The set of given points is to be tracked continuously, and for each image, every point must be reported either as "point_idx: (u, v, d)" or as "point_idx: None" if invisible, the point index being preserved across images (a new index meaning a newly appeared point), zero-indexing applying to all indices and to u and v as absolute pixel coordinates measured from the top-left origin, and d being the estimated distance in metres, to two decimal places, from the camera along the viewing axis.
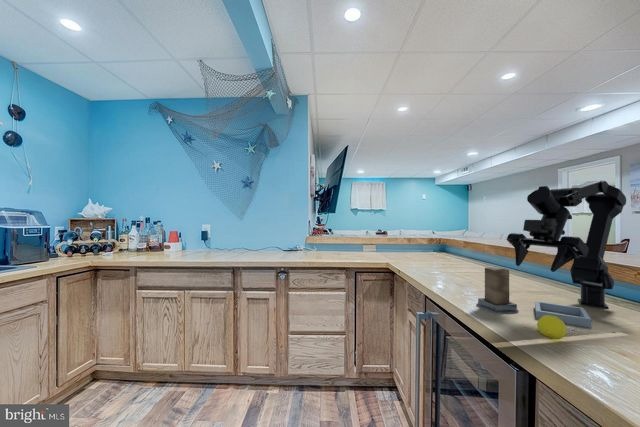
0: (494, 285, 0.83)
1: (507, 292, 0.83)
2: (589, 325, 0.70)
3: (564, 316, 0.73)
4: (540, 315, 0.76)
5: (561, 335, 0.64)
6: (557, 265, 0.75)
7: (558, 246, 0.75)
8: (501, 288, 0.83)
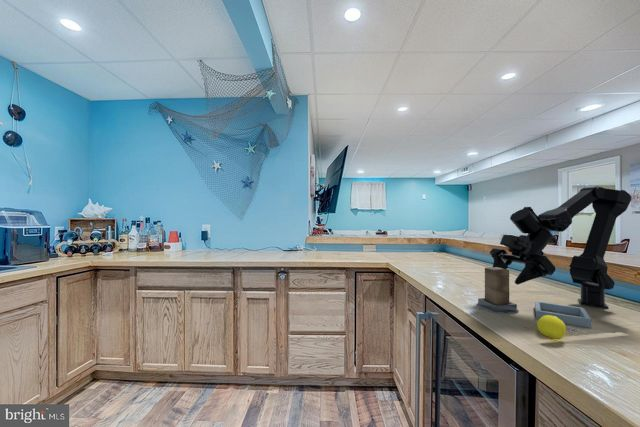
0: (494, 285, 0.83)
1: (507, 292, 0.83)
2: (589, 325, 0.70)
3: (564, 316, 0.73)
4: (540, 315, 0.76)
5: (561, 335, 0.64)
6: (521, 279, 0.80)
7: (526, 261, 0.80)
8: (501, 288, 0.83)
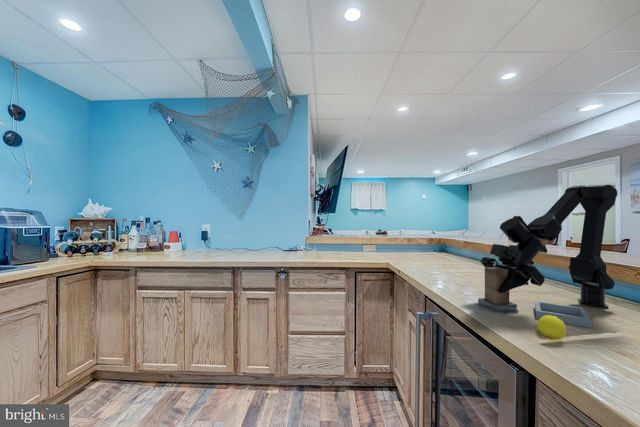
0: (494, 285, 0.83)
1: (507, 292, 0.83)
2: (589, 325, 0.70)
3: (564, 316, 0.73)
4: (540, 315, 0.76)
5: (561, 335, 0.64)
6: (505, 287, 0.82)
7: (509, 270, 0.82)
8: None
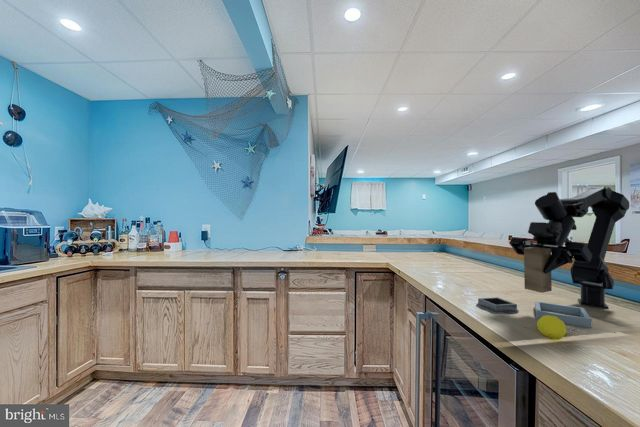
0: (539, 265, 0.77)
1: (550, 272, 0.78)
2: (589, 325, 0.70)
3: (564, 316, 0.73)
4: (540, 315, 0.76)
5: (561, 335, 0.64)
6: (550, 267, 0.77)
7: (552, 249, 0.77)
8: None
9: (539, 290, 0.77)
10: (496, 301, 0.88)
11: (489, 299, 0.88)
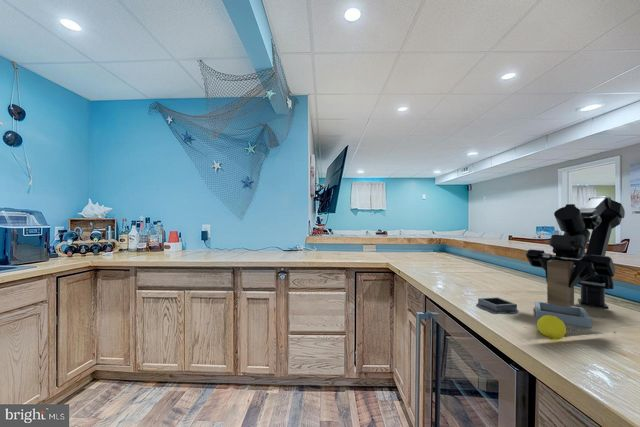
0: (565, 279, 0.75)
1: None
2: (589, 325, 0.70)
3: (564, 316, 0.73)
4: (540, 315, 0.76)
5: (561, 335, 0.64)
6: (575, 281, 0.75)
7: (576, 262, 0.76)
8: None
9: (564, 305, 0.75)
10: (496, 301, 0.88)
11: (489, 299, 0.88)
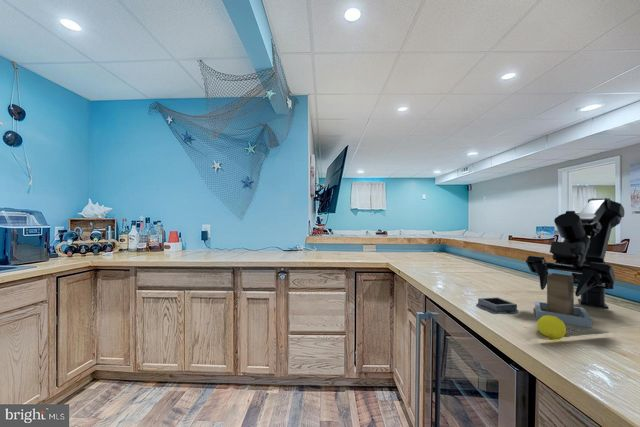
0: (564, 293, 0.75)
1: (572, 300, 0.77)
2: (589, 325, 0.70)
3: (564, 316, 0.73)
4: (540, 315, 0.76)
5: (561, 335, 0.64)
6: (581, 290, 0.74)
7: (583, 270, 0.74)
8: (570, 296, 0.76)
9: None
10: (496, 301, 0.88)
11: (489, 299, 0.88)
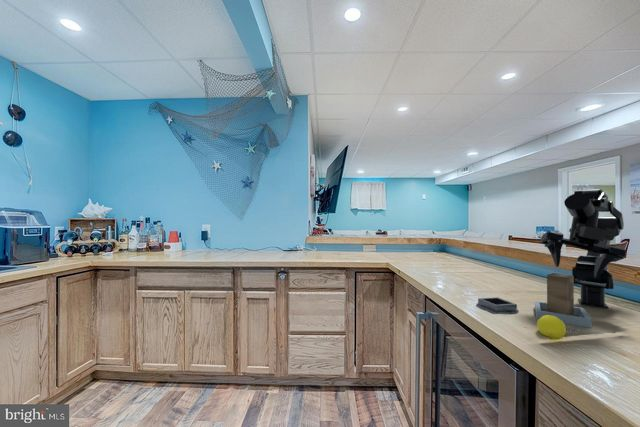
0: (564, 293, 0.75)
1: (572, 300, 0.77)
2: (589, 325, 0.70)
3: (564, 316, 0.73)
4: (540, 315, 0.76)
5: (561, 335, 0.64)
6: None
7: (607, 255, 0.79)
8: (570, 296, 0.76)
9: None
10: (496, 301, 0.88)
11: (489, 299, 0.88)
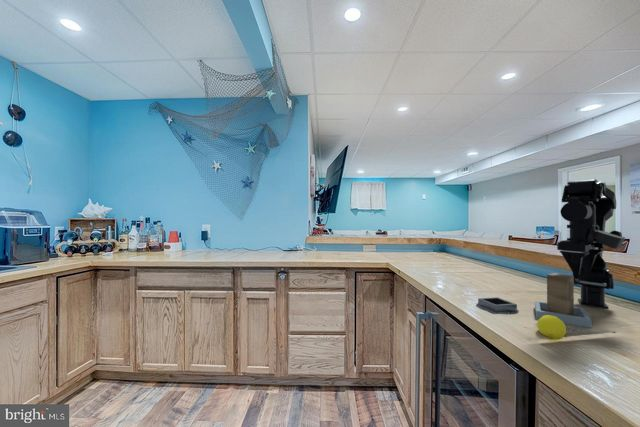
0: (564, 293, 0.75)
1: (572, 300, 0.77)
2: (589, 325, 0.70)
3: (564, 316, 0.73)
4: (540, 315, 0.76)
5: (561, 335, 0.64)
6: None
7: (600, 251, 0.83)
8: (570, 296, 0.76)
9: None
10: (496, 301, 0.88)
11: (489, 299, 0.88)
